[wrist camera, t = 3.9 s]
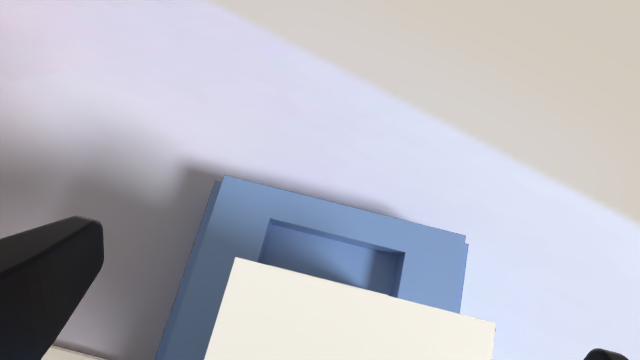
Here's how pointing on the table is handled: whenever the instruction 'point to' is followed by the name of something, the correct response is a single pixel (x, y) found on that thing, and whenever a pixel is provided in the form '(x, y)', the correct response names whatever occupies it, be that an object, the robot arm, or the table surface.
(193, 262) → the blue rectangular tray
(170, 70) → the table surface
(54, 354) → the label tile
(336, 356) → the switch tab
